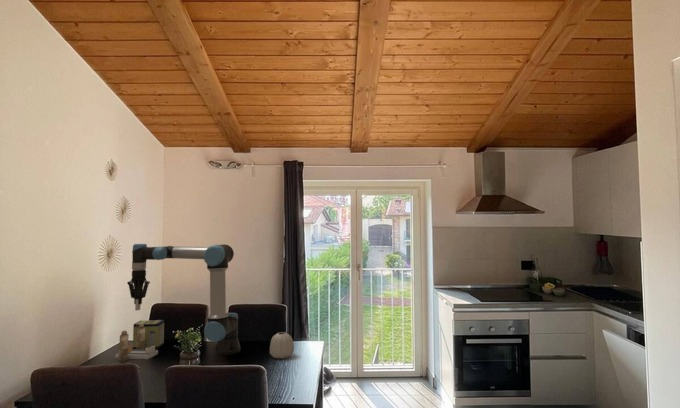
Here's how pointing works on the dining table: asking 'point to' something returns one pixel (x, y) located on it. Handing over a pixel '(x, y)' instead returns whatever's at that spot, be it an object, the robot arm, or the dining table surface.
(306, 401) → the dining table surface
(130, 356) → the white rectangular tray
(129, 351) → the breaker
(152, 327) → the protein box
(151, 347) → the breaker
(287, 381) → the dining table surface
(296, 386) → the dining table surface
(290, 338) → the vase
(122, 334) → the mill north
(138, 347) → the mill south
